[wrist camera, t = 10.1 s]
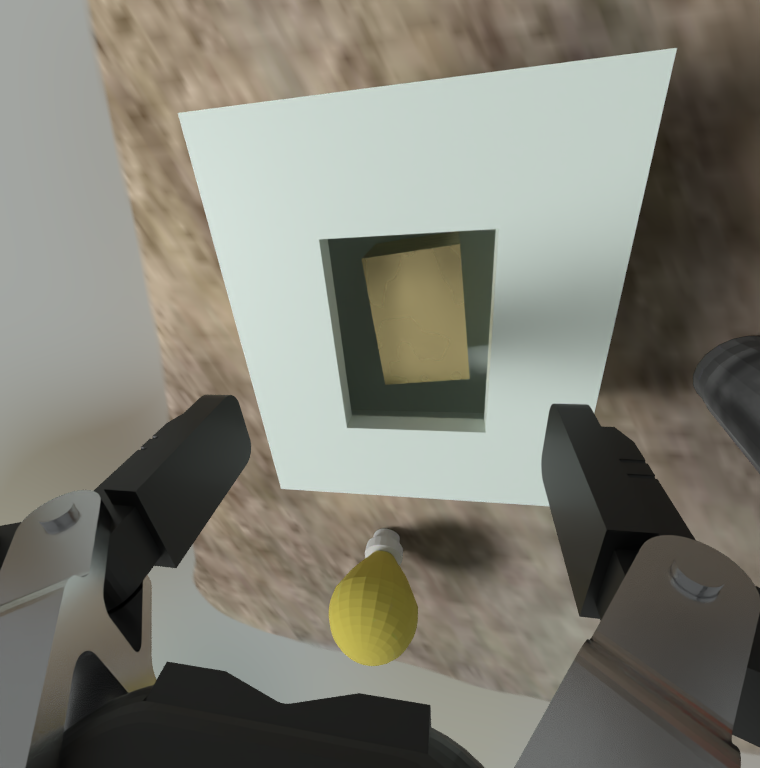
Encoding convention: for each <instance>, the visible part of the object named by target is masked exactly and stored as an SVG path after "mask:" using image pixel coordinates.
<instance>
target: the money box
mask: <svg viewBox="0 0 760 768" xmlns="http://www.w3.org/2000/svg"><path fill="white" fill-rule="evenodd" d="M676 50H677V48H672V49H664V50H657V51H649V52H641V53H634V54H626V55H618V56H611V57H603V58H595V59H588V60H580V61H573V62H565V63H557V64H550V65H542V66H534V67H527V68H519V69H511V70H504V71H496V72H488V73H481V74H473V75H465V76H458V77H450V78H442V79H435V80H427V81H420V82H412V83H404V84H397V85H389V86H381V87H374V88H366V89H358V90H351V91H343V92H335V93H328V94H320V95H312V96H305V97H297V98H290V99H282V100H274V101H267V102H259V103H251V104H244V105H236V106H228V107H221V108H213V109H205V110H198V111H190V112H182V113H178V115H179V119H180V123H181V126H182V130H183V133H184V137H185V141H186V144H187V148H188V152H189V155H190V159H191V163H192V166H193V170H194V173H195V177H196V181H197V184H198V188H199V192H200V195H201V199H202V203H203V206H204V210H205V213H206V217H207V221H208V224H209V228H210V232H211V235H212V239H213V243H214V246H215V250H216V253H217V257H218V261H219V264H220V268H221V272H222V275H223V279H224V283H225V286H226V290H227V293H228V297H229V301H230V304H231V308H232V312H233V315H234V319H235V323H236V326H237V330H238V333H239V337H240V341H241V344H242V348H243V352H244V355H245V359H246V363H247V366H248V370H249V373H250V377H251V381H252V384H253V388H254V392H255V395H256V399H257V403H258V406H259V410H260V413H261V417H262V421H263V424H264V428H265V432H266V435H267V439H268V442H269V446H270V450H271V453H272V457H273V461H274V464H275V468H276V472H277V475H278V479H279V482H280V486H281V489H293V490H308V491H324V492H339V493H354V494H370V495H385V496H400V497H416V498H431V499H447V500H462V501H477V502H493V503H508V504H523V505H539V506H549V502H548V498H547V495H546V491H545V487H544V484H543V479H542V471H541V459H542V451H543V445H544V439H545V433H546V427H547V421H548V415H549V410H550V407H551V405H552V404H587V405H589V406H590V407H591V409H592V411H593V413H594V412H595V408H596V403H597V399H598V394H599V390H600V386H601V381H602V377H603V372H604V368H605V363H606V359H607V355H608V350H609V346H610V341H611V337H612V333H613V328H614V324H615V319H616V315H617V310H618V306H619V302H620V297H621V293H622V288H623V284H624V280H625V275H626V271H627V266H628V262H629V258H630V253H631V249H632V244H633V240H634V235H635V231H636V227H637V222H638V218H639V213H640V209H641V205H642V200H643V196H644V191H645V187H646V183H647V178H648V174H649V169H650V165H651V160H652V156H653V152H654V147H655V143H656V138H657V134H658V130H659V125H660V121H661V116H662V112H663V108H664V103H665V99H666V94H667V90H668V85H669V81H670V77H671V72H672V68H673V63H674V59H675V55H676ZM454 231H459V235H460V249H461V263H462V277H463V292H464V306H465V320H466V334H467V348H468V362H469V376H470V379H461V380H447V381H433V382H419V383H405V384H390V385H385V381H384V376H383V370H382V365H381V360H380V354H379V349H378V344H377V339H376V333H375V328H374V323H373V317H372V312H371V307H370V301H369V296H368V291H367V286H366V280H365V275H364V270H363V264H362V258H363V257H364V256H365V255H366V254H367V252H368V251H369V250H370V249H371V248H372V247H373V246H374V245H375V244H376V243H383V242H389V241H395V240H402V239H408V238H415V237H421V236H427V235H434V234H440V233H447V232H454Z"/></svg>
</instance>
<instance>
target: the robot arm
mask: <svg viewBox="0 0 760 768" xmlns="http://www.w3.org/2000/svg"><path fill="white" fill-rule="evenodd" d="M250 453H251V442H250V438H249V435H248V431H247V428H246V425H245V422H244V418H243V415H242V412H241V409H240V405H239V402H238V400H237V399H236V398H235V397H234V396H232V395H204V396H202V397H201V398H199V399H198V400H197V401H196V402H195V403H194V404H193V405H192V406H191V407H190V408H189V409H188V410H187V411H186V412H185V413H184V414H182V415H180V416H178V417H177V418H175V419H173V420H171V421H170V422H168V423H166V424H165V425H164V426H163V427H162V428H161V429H160V430H159V431H158V432H157V433H156V434H155V435H153V439H149V440H148V441H147V442H146V443H145V444H144V445H143V446H142V447H141V450H137V451H136V452H135V453H134V454H133V455H132V456H131V457H130V458H129V459H127V460H126V461H125V462H124V463H123V464H122V465H121V466H120V467H119V468H118V469H117V470H116V471H114V472H113V473H112V474H111V475H110V476H109V477H108V478H107V479H106V480H105V481H104V482H103V483H101V484H100V485H99V487H97V488H96V489H95V490H94V491H91V490H81V491H74V492H70V493H67V494H64V495H61V496H59V497H56V498H54V499H52V500H50V501H48V502H47V503H45V504H43V505H42V506H40V507H38V508H37V509H36V510H34V511H33V512H32V513H30V514H29V515H28V516H27V517H26V518H25V519H24V520H23V521H22V522H20V523H14V524H9V525H3V526H0V768H484V767H483V766H482V764H481V763H479V762H478V761H477V760H476V759H475V758H474V757H473V756H472V755H471V754H470V753H469V752H468V751H467V750H465V749H464V748H463V747H462V746H460V745H459V744H458V743H456V742H455V741H453V740H452V739H451V738H449V737H448V736H446V735H444V734H442V733H441V732H439V731H437V730H435V729H433V728H431V710H430V705H427V704H420V703H415V702H408V701H402V700H396V699H390V698H384V697H377V696H371V695H366V694H360V693H358V694H352V695H345V696H338V697H332V698H325V699H319V700H312V701H305V702H299V703H292V704H284V703H280V702H277V701H275V700H274V699H272V698H270V697H269V696H267V695H265V694H263V693H262V692H260V691H258V690H257V689H255V688H253V687H251V686H250V685H248V684H246V683H245V682H242V681H241V680H240V679H238V678H236V677H234V676H232V675H231V674H229V673H228V672H225V671H220V670H214V669H208V668H202V667H196V666H190V665H184V664H178V663H172V662H167V663H166V665H165V666H164V668H163V670H162V671H161V673H160V675H159V677H158V679H157V680H156V677H155V675H154V671H153V666H152V657H151V604H152V603H151V602H152V599H151V598H152V597H151V595H152V592H151V589H152V588H151V587H152V586H151V581H150V579H149V577H148V575H147V574H148V573H149V572H150V570H151V569H152V568H153V566H163V567H171V568H177V566H178V565H179V563H180V562H181V560H182V558H183V557H184V556H185V554H186V553H187V551H188V550H189V548H190V547H191V546H192V544H193V543H194V541H195V540H196V538H197V537H198V535H199V534H200V532H201V531H202V529H203V528H204V526H205V525H206V523H207V522H208V520H209V519H210V518H211V516H212V515H213V513H214V512H215V510H216V509H217V507H218V506H219V504H220V503H221V501H222V500H223V498H224V497H225V495H226V494H227V492H228V491H229V490H230V488H231V487H232V485H233V484H234V482H235V481H236V479H237V478H238V476H239V475H240V473H241V472H242V470H243V469H244V467H245V466H246V464H247V463H248V460H249V458H250ZM541 471H542V479H543V484H544V487H545V491H546V495H547V498H548V502H549V506H550V509H551V513H552V517H553V521H554V524H555V528H556V532H557V535H558V539H559V543H560V546H561V550H562V554H563V557H564V561H565V565H566V568H567V572H568V576H569V579H570V583H571V587H572V590H573V594H574V598H575V601H576V605H577V609H578V613H579V616H581V617H589V618H598V619H600V620H601V622H600V623H599V625H598V627H597V629H596V631H595V632H594V634H593V636H592V637H591V639H590V640H588V639H587V640H586V642H585V643H584V644H583V646H582V647H581V649H580V651H579V652H578V654H577V656H576V658H575V659H574V661H573V663H572V665H571V667H570V668H569V670H568V672H567V674H566V675H565V677H564V679H563V681H562V683H561V684H560V686H559V688H558V690H557V692H556V693H555V695H554V697H553V699H552V701H551V702H550V704H549V706H548V708H547V710H546V712H545V713H544V715H543V717H542V719H541V720H540V722H539V724H538V726H537V728H536V730H535V731H534V733H533V735H532V737H531V738H530V741H529V742H528V744H527V746H526V747H525V749H524V751H523V753H522V755H521V757H520V758H519V760H518V762H517V764H516V765H515V767H514V768H740V767H741V756H740V751H739V749H738V747H737V746H735V745H734V744H732V735H735V736H737V737H739V738H741V739H743V740H745V741H747V742H749V743H752V744H754V745H756V746H758V747H760V588H759V587H757V586H755V585H754V583H753V582H752V580H751V579H750V578H749V576H748V575H747V574H746V573H745V572H744V571H743V570H742V569H741V568H740V567H739V566H738V565H737V564H736V563H735V562H733V561H732V560H731V559H730V558H728V557H727V556H725V555H724V554H722V553H721V552H719V551H718V550H716V549H714V548H712V547H710V546H708V545H706V544H703V543H701V542H699V541H696V540H695V538H694V537H693V535H692V534H691V532H690V530H689V529H688V527H687V526H686V524H685V522H684V521H683V519H682V518H681V516H680V514H679V513H678V511H677V510H676V508H675V507H674V505H673V503H672V502H671V500H670V499H669V497H668V495H667V494H666V492H665V491H664V489H663V487H662V486H661V484H660V483H659V481H658V480H657V479H655V475H654V473H653V472H652V470H651V468H650V467H649V465H648V464H646V463H645V459H644V457H643V456H642V454H641V452H640V451H639V449H638V448H637V446H636V445H635V443H634V442H633V441H632V440H630V439H629V438H628V437H627V436H625V435H624V434H623V433H621V432H620V431H619V430H617V429H616V428H615V427H601V425H600V424H599V422H598V420H597V418H596V416H595V414H594V413H593V411H592V409H591V407H590V406H589V405H587V404H552V405H551V407H550V410H549V415H548V421H547V427H546V433H545V439H544V445H543V451H542V459H541Z"/></svg>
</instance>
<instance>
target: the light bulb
mask: <svg viewBox="0 0 760 768" xmlns="http://www.w3.org/2000/svg"><path fill="white" fill-rule="evenodd" d="M399 542H400V537H399V535H398V534H397V533H396V532H394V531H393V530H390V529H379V530H377V531H376V532H375V534H374V537H373V538H371V539H370V540H369V541H368V543H367V546H366V550H365V558H366V559H364V560H363V561H362V562H360V563H359V564H358V565H356V566H355V567H354V568H353V569H352V570H351V571H350V572H349V573H348V574H347V575H346V576H345V577H344V579H343V580H342V581H341V582H340V583H339V584H338V585H337V586H336V588H335V590H334V593H333V595H332V598H331V601H330V606H329V621H330V627H331V632H332V635H333V638H334V640H335V642H336V643H337V645H338V646H339V648H340V649H341V650H342V652H343V653H345V655H347V656H348V657H349V658H350V659H352V660H353V661H355V662H357V663H360V664H363V665H368V666H379V665H383V664H387V663H389V662H391V661H392V660H394V659H396V658H398V657H399V656H400V655H401V654H402V653H403V652H404V651H405V650H406V648H407V647H408V645H409V644H410V642H411V641H412V639H413V637H414V634H415V631H416V628H417V622H418V606H417V603H416V601H415V598H414V595H413V593H412V590H411V588H410V585H409V582H408V580H407V578H406V576H405V574H404V573H403V571H402V569H401V568H400V566H399V565H400V564H401V562H402V556H403V548H402V546H401V544H400V543H399Z"/></svg>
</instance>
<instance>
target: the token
mask: <svg viewBox="0 0 760 768" xmlns="http://www.w3.org/2000/svg"><path fill="white" fill-rule="evenodd" d="M362 264H363V270H364V275H365V280H366V286H367V291H368V296H369V301H370V307H371V312H372V317H373V323H374V328H375V333H376V339H377V344H378V349H379V354H380V360H381V365H382V370H383V376H384V381H385V385H390V384H405V383H419V382H433V381H447V380H461V379H470V376H469V362H468V348H467V334H466V320H465V306H464V292H463V277H462V263H461V249H460V235H459V231H454V232H447V233H440V234H434V235H427V236H421V237H415V238H408V239H402V240H395V241H389V242H383V243H376V244H375V245H374V246H373V247H372V248H371V249H370V250H369V251H368V252H367V254H366V255H365V256H364V257H363V258H362Z"/></svg>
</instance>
